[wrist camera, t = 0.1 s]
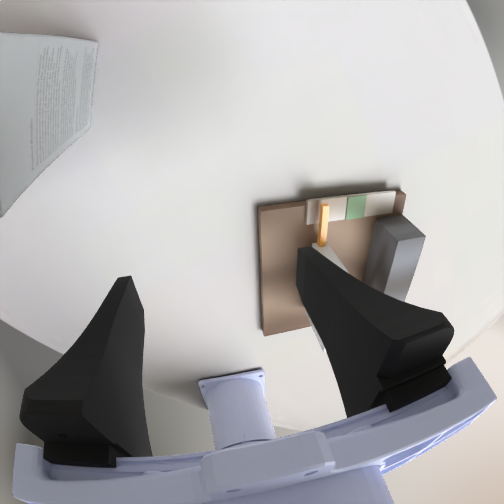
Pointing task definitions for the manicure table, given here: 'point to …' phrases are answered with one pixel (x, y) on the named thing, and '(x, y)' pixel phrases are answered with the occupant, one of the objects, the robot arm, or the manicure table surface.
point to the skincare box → (40, 104)
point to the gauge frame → (335, 249)
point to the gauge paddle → (324, 251)
